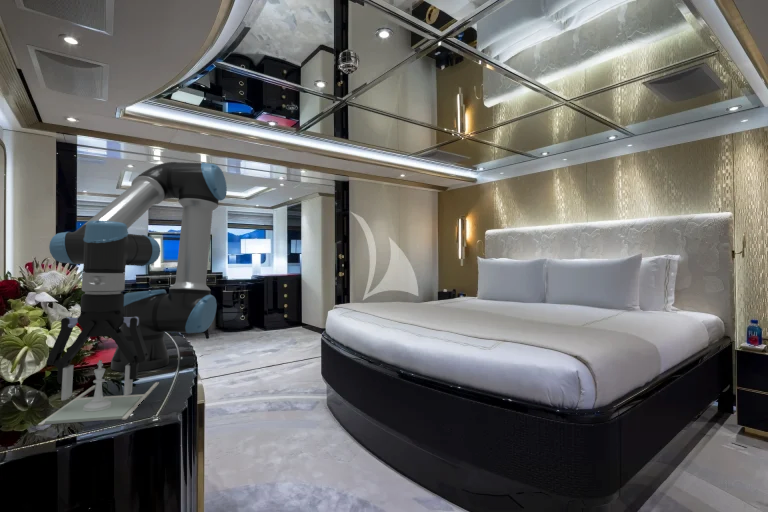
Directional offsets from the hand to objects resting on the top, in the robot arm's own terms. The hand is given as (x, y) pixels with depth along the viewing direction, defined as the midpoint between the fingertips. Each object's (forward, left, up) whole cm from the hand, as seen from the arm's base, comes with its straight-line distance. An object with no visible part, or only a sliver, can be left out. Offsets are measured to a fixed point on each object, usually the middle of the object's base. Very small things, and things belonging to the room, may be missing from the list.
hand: (97, 396), depth 83 cm
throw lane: (-6, 0, -3) cm, 7 cm away
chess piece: (0, 0, -3) cm, 3 cm away
